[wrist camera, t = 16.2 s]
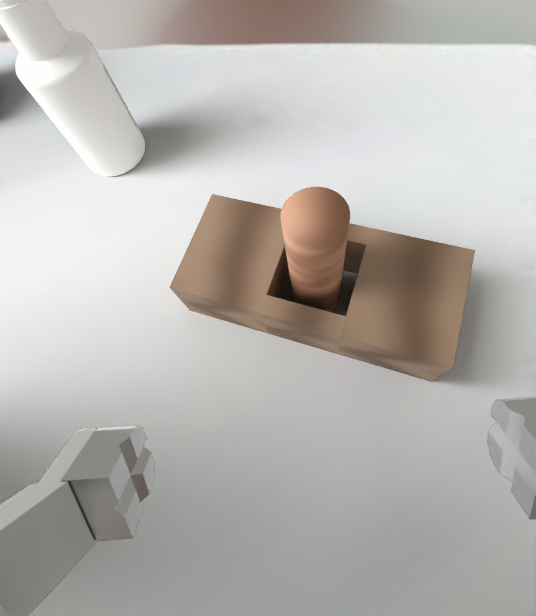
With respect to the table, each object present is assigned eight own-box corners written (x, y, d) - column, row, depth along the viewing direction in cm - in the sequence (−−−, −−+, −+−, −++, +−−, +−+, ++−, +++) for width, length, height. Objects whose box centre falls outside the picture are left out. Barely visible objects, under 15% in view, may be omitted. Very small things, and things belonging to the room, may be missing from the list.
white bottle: (145, 123, 43) (36, -84, 27) (148, 170, 41) (30, -28, 24) (88, 137, 44) (-55, -60, 27) (87, 184, 41) (-70, -1, 24)
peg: (287, 310, 33) (271, 236, 22) (300, 270, 34) (292, 181, 23) (332, 322, 32) (339, 252, 21) (344, 281, 33) (357, 194, 22)
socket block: (189, 310, 34) (169, 287, 29) (225, 226, 37) (212, 194, 32) (431, 381, 29) (453, 367, 25) (452, 279, 32) (474, 250, 27)
